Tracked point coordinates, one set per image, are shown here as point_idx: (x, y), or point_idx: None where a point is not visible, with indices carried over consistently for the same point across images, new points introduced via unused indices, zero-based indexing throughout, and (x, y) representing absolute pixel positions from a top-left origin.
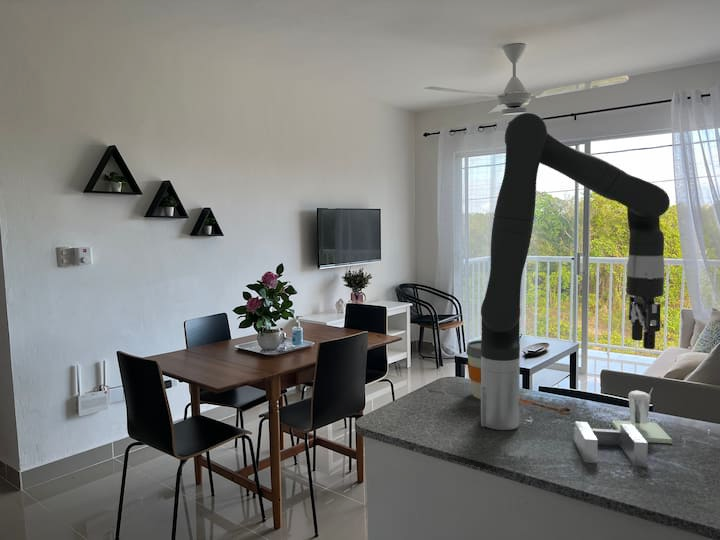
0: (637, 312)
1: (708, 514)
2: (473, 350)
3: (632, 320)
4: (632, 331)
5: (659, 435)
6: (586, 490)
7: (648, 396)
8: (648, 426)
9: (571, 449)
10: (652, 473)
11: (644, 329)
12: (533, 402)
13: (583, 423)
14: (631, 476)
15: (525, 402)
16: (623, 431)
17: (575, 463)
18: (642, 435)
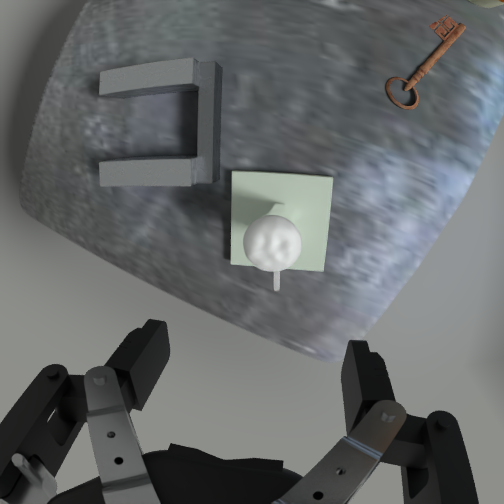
0: (251, 492)
1: (32, 213)
2: None
3: (371, 423)
4: (360, 368)
5: None
6: (51, 80)
7: (253, 263)
8: None
9: None
10: None
11: (93, 374)
12: (445, 42)
13: (181, 74)
14: (90, 145)
15: (446, 28)
16: (170, 158)
17: (119, 64)
18: (242, 213)
